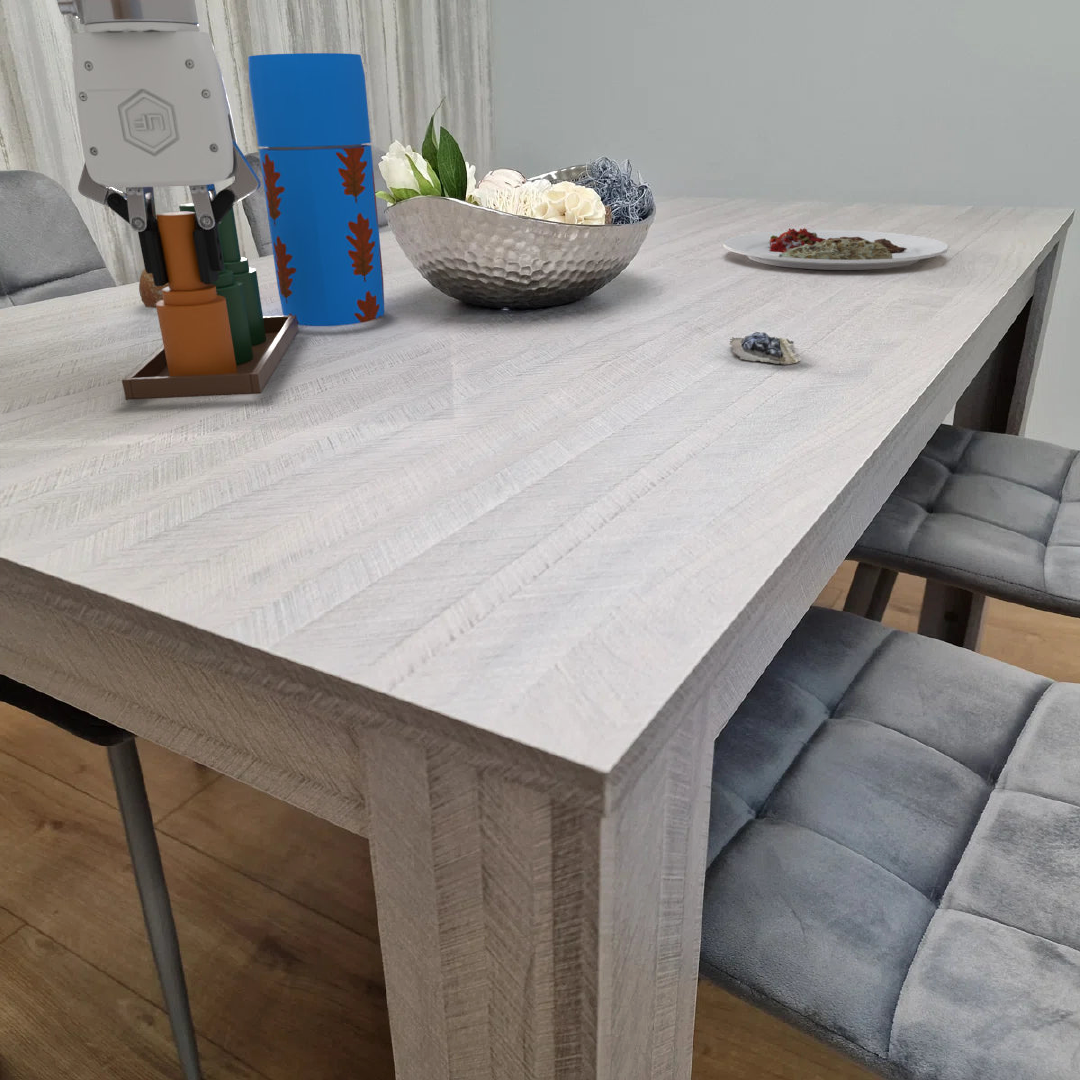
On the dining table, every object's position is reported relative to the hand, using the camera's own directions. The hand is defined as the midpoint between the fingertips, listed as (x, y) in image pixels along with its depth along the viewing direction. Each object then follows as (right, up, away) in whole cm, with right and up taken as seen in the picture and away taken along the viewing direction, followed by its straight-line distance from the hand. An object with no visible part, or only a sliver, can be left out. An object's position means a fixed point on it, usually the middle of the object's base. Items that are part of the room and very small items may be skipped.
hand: (187, 280), depth 73 cm
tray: (-1, -5, +10) cm, 11 cm away
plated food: (+68, +19, +59) cm, 92 cm away
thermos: (+6, +3, +27) cm, 28 cm away
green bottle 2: (-1, -1, +16) cm, 16 cm away
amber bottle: (0, -7, +3) cm, 8 cm away
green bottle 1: (-1, -4, +10) cm, 11 cm away
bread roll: (-14, +7, +37) cm, 40 cm away
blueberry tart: (+48, -4, +10) cm, 49 cm away
